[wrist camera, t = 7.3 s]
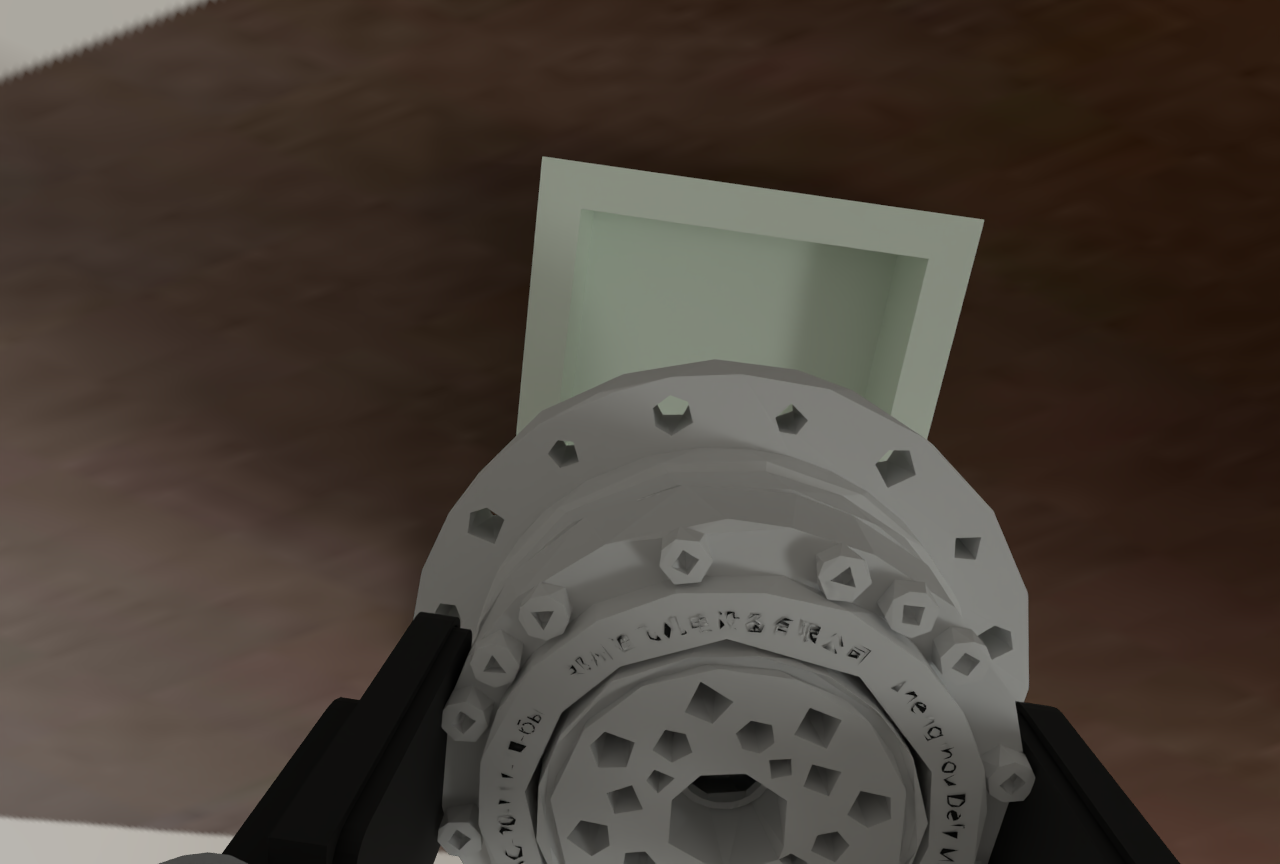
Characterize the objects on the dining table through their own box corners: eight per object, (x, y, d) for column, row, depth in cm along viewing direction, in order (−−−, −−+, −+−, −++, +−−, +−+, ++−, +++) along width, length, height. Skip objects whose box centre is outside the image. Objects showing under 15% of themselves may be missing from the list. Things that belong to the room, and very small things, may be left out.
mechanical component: (1117, 577, 12) (646, 229, 11) (1347, 760, 8) (630, 231, 7) (758, 929, 15) (339, 675, 14) (791, 1209, 11) (190, 877, 9)
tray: (932, 220, 20) (984, 219, 16) (811, 719, 24) (832, 799, 21) (566, 168, 20) (541, 156, 16) (514, 672, 24) (486, 745, 21)
